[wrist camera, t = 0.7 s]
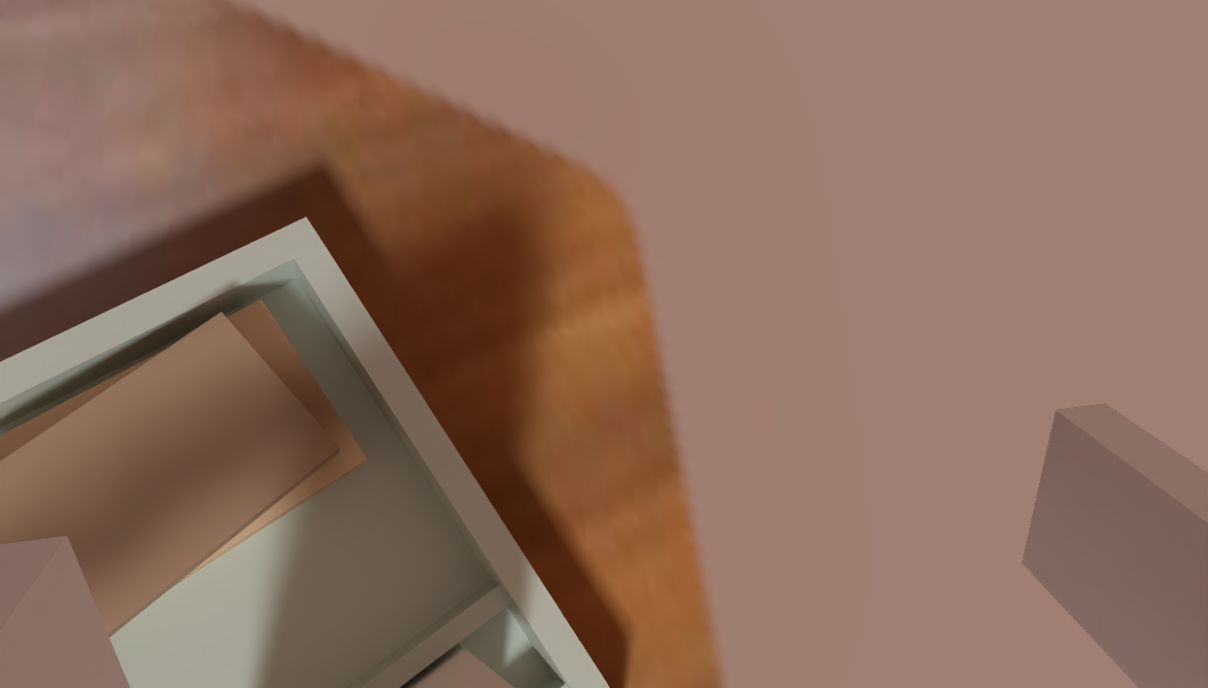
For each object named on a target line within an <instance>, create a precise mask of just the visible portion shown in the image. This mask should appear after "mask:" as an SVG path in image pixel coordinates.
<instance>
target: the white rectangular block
mask: <svg viewBox="0 0 1208 688" xmlns="http://www.w3.org/2000/svg"><path fill="white" fill-rule="evenodd" d="M400 688H514V687H513V686H512V685H511V684H509V683H508V682H507V681H505V680H504V679H503V678H502V677H500V676H499V675H498V674H497V673H495V672H494V671H493V670H491V669H490V668H489V667H488V666H486V665H485V664H484V663H483V662H481V661H480V660H479V659H477V658H476V657H475V656H474V655H472V654H471V653H470V652H469V651H467V650H466V649H465V648H464V647H462V646H461V645H460V644H456V645H455V646H454V647H452V648H451V649H450V650H448V651H447V652H446V653H444V654H443V655H442V656H440V657H439V658H438V659H436V660H435V661H434V662H433V663H431V664H430V665H429V666H427V667H426V668H425V669H423V670H422V671H421V672H419V673H418V674H417V675H415V676H414V677H413V678H411V679H410V680H409V681H407V682H406V683H405V684H404V685H402V686H401V687H400Z"/></svg>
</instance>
